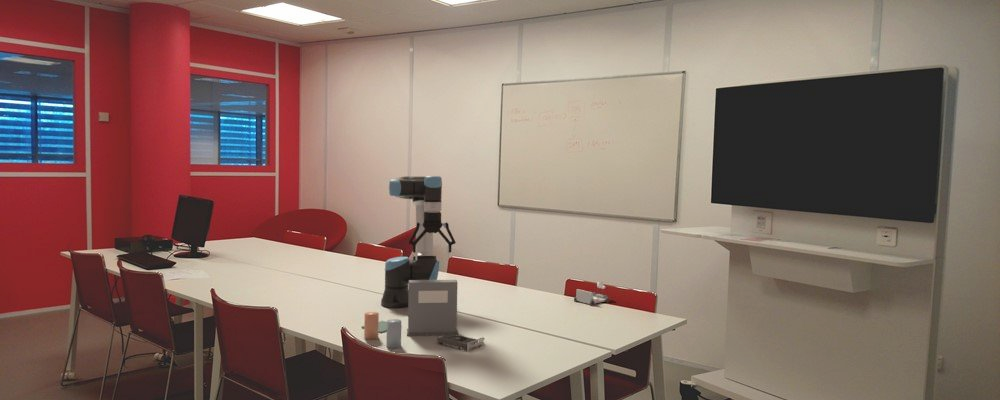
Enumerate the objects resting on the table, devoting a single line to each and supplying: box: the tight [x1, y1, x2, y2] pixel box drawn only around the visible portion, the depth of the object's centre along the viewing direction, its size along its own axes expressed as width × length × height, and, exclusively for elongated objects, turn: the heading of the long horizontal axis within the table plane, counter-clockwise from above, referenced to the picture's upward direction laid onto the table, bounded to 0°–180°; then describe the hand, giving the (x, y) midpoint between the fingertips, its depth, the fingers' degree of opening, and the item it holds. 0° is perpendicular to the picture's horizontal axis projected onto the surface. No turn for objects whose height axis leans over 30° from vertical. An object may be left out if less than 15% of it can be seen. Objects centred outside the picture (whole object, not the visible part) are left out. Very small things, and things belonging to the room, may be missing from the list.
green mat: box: [361, 320, 403, 334], centre depth 261 cm, size 12×12×1 cm
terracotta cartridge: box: [363, 311, 380, 341], centre depth 246 cm, size 6×6×10 cm
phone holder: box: [573, 281, 611, 307], centre depth 318 cm, size 18×10×12 cm
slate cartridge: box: [385, 318, 402, 350], centre depth 235 cm, size 6×6×10 cm
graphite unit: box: [406, 279, 459, 337], centre depth 254 cm, size 7×21×22 cm, turn 99°
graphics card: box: [436, 334, 486, 352], centre depth 240 cm, size 17×4×12 cm
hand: (431, 260), depth 265 cm, fingers open, 13 cm apart
